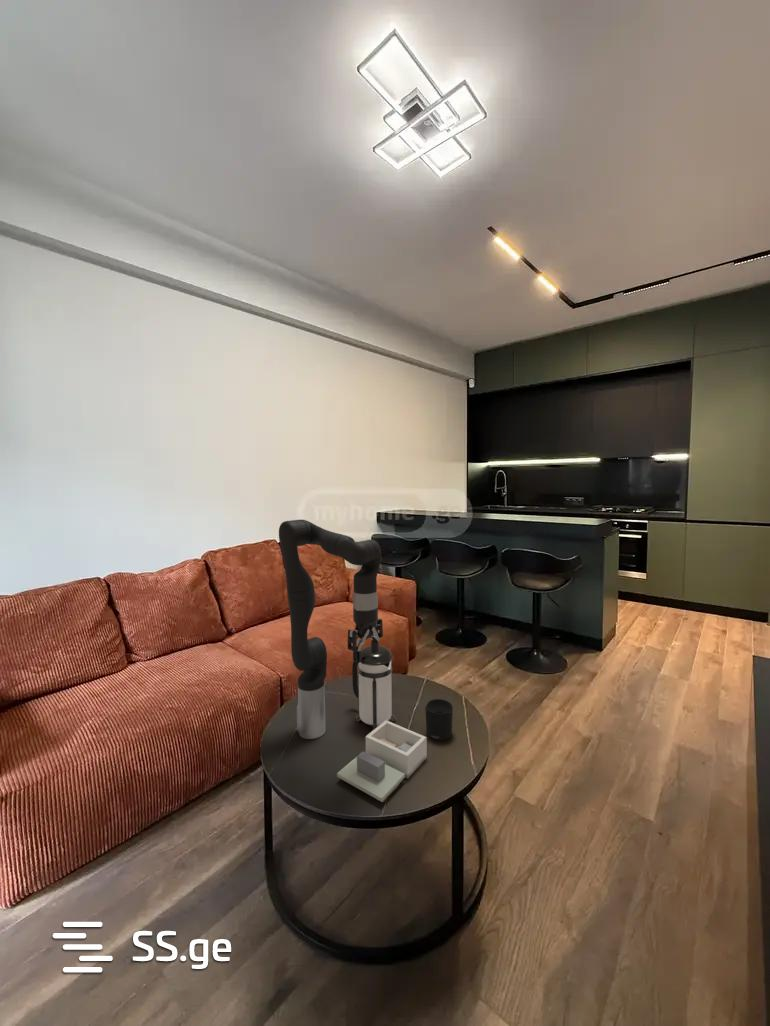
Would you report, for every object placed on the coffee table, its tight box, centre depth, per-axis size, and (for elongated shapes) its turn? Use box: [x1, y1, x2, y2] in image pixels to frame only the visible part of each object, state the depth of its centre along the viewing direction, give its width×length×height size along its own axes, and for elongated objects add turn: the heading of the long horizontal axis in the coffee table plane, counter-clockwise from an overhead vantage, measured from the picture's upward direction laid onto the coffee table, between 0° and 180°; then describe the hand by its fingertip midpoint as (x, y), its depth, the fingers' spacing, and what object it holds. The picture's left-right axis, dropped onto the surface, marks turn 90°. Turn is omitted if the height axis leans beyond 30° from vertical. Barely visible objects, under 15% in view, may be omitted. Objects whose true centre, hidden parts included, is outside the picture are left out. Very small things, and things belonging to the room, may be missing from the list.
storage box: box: [365, 720, 428, 779], centre depth 130 cm, size 16×11×7 cm
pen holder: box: [425, 698, 454, 742], centre depth 142 cm, size 9×9×10 cm
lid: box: [336, 750, 406, 803], centre depth 120 cm, size 16×11×7 cm
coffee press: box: [351, 644, 397, 731], centre depth 150 cm, size 17×16×30 cm
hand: (366, 657), depth 126 cm, fingers open, 8 cm apart
